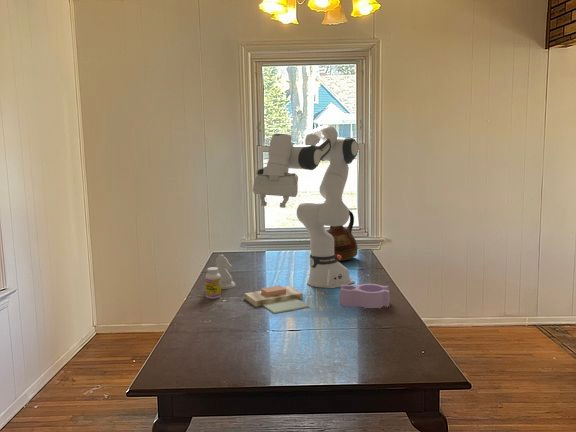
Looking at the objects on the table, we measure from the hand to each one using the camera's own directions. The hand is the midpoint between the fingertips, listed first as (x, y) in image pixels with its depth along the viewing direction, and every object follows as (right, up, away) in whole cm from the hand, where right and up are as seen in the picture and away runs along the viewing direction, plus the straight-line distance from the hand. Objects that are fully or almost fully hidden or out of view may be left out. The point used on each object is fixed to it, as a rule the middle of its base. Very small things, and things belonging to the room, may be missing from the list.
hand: (272, 206), depth 203 cm
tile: (0, -37, +15) cm, 40 cm away
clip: (+38, -41, +8) cm, 56 cm away
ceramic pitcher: (+35, -28, +83) cm, 94 cm away
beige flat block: (0, -39, +16) cm, 42 cm away
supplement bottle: (-26, -39, +19) cm, 51 cm away
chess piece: (-24, -37, +35) cm, 56 cm away
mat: (+5, -41, +6) cm, 42 cm away
